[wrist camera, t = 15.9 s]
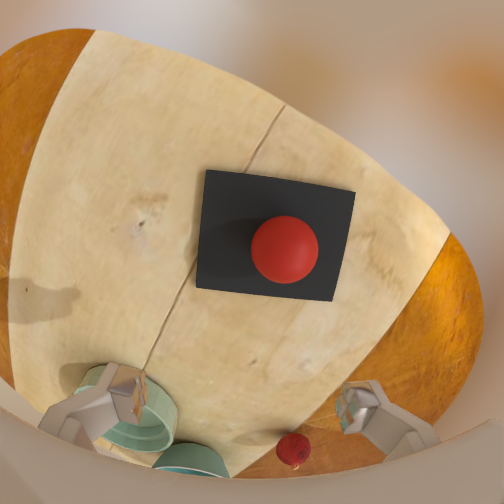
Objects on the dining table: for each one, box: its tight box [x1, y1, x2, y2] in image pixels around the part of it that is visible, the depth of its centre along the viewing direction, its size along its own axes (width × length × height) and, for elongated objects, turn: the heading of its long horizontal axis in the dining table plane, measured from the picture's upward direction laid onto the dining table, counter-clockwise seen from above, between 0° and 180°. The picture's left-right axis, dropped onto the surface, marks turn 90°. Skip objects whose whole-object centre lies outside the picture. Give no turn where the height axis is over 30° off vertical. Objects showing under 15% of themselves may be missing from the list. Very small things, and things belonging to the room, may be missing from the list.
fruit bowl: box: [73, 366, 178, 453], centre depth 34 cm, size 17×17×6 cm
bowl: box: [152, 443, 230, 478], centre depth 38 cm, size 16×16×8 cm
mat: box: [196, 170, 356, 302], centre depth 29 cm, size 16×13×1 cm
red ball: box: [251, 216, 318, 283], centre depth 26 cm, size 6×6×6 cm
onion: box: [276, 433, 311, 470], centre depth 36 cm, size 6×6×8 cm
